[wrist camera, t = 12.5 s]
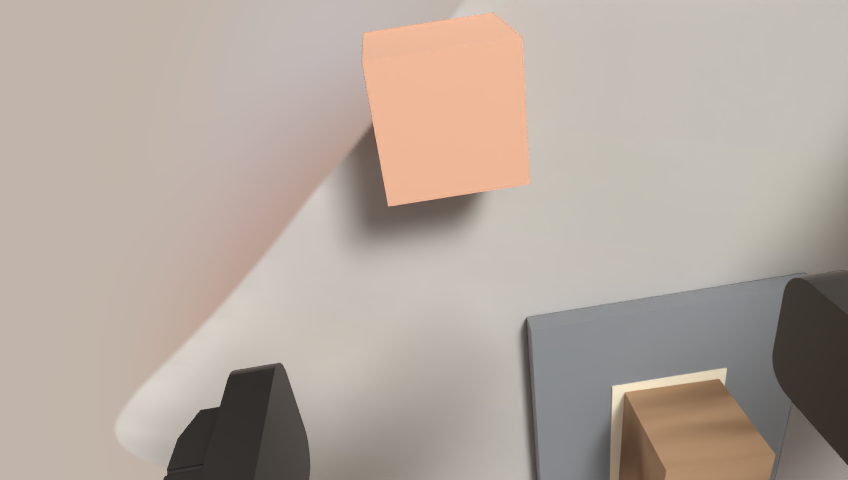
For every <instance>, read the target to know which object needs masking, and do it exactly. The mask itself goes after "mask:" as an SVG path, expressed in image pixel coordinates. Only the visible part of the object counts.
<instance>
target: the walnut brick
mask: <svg viewBox="0 0 848 480" xmlns="http://www.w3.org/2000/svg"><path fill="white" fill-rule="evenodd" d="M774 459H775V453H774V452H773V450H772V449H771V448H770V446H769V445H768V444H767V442H766V441H765V440H764V438H763V437H762V436H761V434H760V433H759V432H758V430H757V429H756V428H755V426H754V425H753V424H752V422H751V421H750V420H749V418H748V417H747V416H746V414H745V413H744V411H743V410H742V409H741V407H740V406H739V405H738V403H737V402H736V401H735V399H734V398H733V397H732V395H731V394H730V393H729V391H728V390H727V389H726V387H725V386H724V385H723V383H722V382H721V381H720V379H714V380H707V381H700V382H693V383H686V384H679V385H672V386H665V387H658V388H651V389H644V390H637V391H630V392H625V395H624V409H623V424H622V438H621V453H620V467H619V480H769V479H770V475H771V471H772V467H773V463H774Z"/></svg>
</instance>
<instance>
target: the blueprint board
mask: <svg viewBox="0 0 848 480" xmlns="http://www.w3.org/2000/svg"><path fill="white" fill-rule="evenodd" d="M804 276H808V275H807V274H806V273H800V274H794V275H788V276H781V277H775V278H769V279H763V280H756V281H750V282H744V283H738V284H731V285H725V286H719V287H713V288H706V289H700V290H694V291H688V292H681V293H675V294H669V295H663V296H657V297H650V298H644V299H638V300H632V301H625V302H619V303H613V304H607V305H600V306H594V307H588V308H582V309H575V310H569V311H563V312H557V313H550V314H544V315H538V316H532V317H527V331H528V347H529V362H530V377H531V393H532V408H533V423H534V439H535V454H536V470H537V480H619V467H620V453H621V438H622V424H623V409H624V395H625V392H630V391H637V390H644V389H651V388H658V387H665V386H672V385H679V384H686V383H693V382H700V381H707V380H714V379H720V381H721V382H722V383H723V385H724V386H725V387H726V389H727V390H728V391H729V393H730V394H731V395H732V397H733V398H734V399H735V401H736V402H737V403H738V405H739V406H740V407H741V409H742V410H743V411H744V413H745V414H746V416H747V417H748V418H749V420H750V421H751V422H752V424H753V425H754V426H755V428H756V429H757V430H758V432H759V433H760V434H761V436H762V437H763V438H764V440H765V441H766V442H767V444H768V445H769V446H770V448H771V449H772V450H773V452H774V453H775V459H774V463H773V467H772V471H771V475H770V479H769V480H775V476H776V471H777V467H778V462H779V458H780V453H781V449H782V444H783V439H784V435H785V430H786V426H787V421H788V417H789V412H790V408H791V403H792V401H791V400H790V399H789V397H788V396H787V395H786V394H785V393H784V391H783V390H782V388H781V387H780V385H779V383H778V381H777V378H776V376H775V372H774V369H773V363H772V353H773V347H774V342H775V336H776V331H777V325H778V320H779V315H780V309H781V304H782V298H783V293H784V289H785V286H786V284H787V283H788V282H789V281H790V280H791V279H793V278H798V277H804Z"/></svg>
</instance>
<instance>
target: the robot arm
mask: <svg viewBox="0 0 848 480" xmlns="http://www.w3.org/2000/svg"><path fill="white" fill-rule="evenodd" d="M772 363H773V369H774V372H775V376H776V378H777V381H778V383H779V385H780V387H781V388H782V390H783V391H784V393H785V394H786V395H787V396H788V397H789V399H790V400H791V401H792V402H793V403H794V404H795V405H796V407H797V408H798V409H799V410H800V411H801V412H802V413H803V415H804V416H805V417H806V418H807V419H808V420H809V421H810V423H811V424H812V425H813V426H814V427H815V428H816V429H817V431H818V432H819V433H820V434H821V435H822V436H823V437H824V439H825V440H826V441H827V442H828V443H829V444H830V445H831V447H832V448H833V449H834V450H835V451H836V452H837V453H838V455H839V456H840V457H841V458H842V459H843V460H844V461H845V463H846V464H847V465H848V271H844V270H840V271H833V272H827V273H821V274H815V275H810V276H804V277H798V278H793V279H791V280H790V281H789V282H788V283H787V284H786V286H785V289H784V293H783V298H782V304H781V309H780V315H779V320H778V325H777V331H776V336H775V342H774V347H773V353H772ZM309 475H310V455H309V446H308V440H307V435H306V431H305V428H304V425H303V422H302V419H301V416H300V413H299V410H298V407H297V403H296V400H295V397H294V394H293V391H292V388H291V385H290V382H289V379H288V376H287V373H286V370H285V368H284V366H283V365H282V364H281V363H276V364H270V365H264V366H258V367H252V368H246V369H240V370H234V371H232V372H231V373H230V375H229V377H228V380H227V384H226V387H225V391H224V394H223V398H222V401H221V405H220V407H216V408H210V409H204V410H200V411H199V413H198V414H197V415H196V416H195V418H194V419H193V420H192V421H191V423H190V424H189V425H188V426H187V428H186V429H185V430H184V432H183V433H182V434H181V435H180V437H179V438H178V439H177V442H176V445H175V448H174V451H173V454H172V457H171V459H170V462H169V465H168V468H167V476H165V477H164V480H309Z"/></svg>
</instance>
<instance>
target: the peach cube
mask: <svg viewBox="0 0 848 480" xmlns="http://www.w3.org/2000/svg"><path fill="white" fill-rule="evenodd" d="M362 47H363V48H362V66H363V71H364V77H365V83H366V88H367V93H368V99H369V104H370V110H371V115H372V121H373V126H374V132H375V137H376V143H377V148H378V154H379V159H380V165H381V170H382V175H383V181H384V186H385V192H386V197H387V203H388V207H389V206H395V205H401V204H408V203H414V202H420V201H427V200H433V199H439V198H446V197H452V196H458V195H465V194H471V193H478V192H484V191H490V190H497V189H503V188H509V187H516V186H522V185H528V184H530V173H529V154H528V136H527V117H526V98H525V79H524V61H523V42H522V36H521V35H520V34H518V33H517V32H516V31H515V30H514V29H512V28H511V27H510V26H509V25H508V24H506V23H505V22H504V21H503V20H502V19H501V18H499V17H498V16H497V15H496V14H495V13H487V14H481V15H474V16H468V17H461V18H455V19H446V20H440V21H433V22H427V23H421V24H414V25H408V26H401V27H395V28H389V29H382V30H376V31H370V32H363V45H362Z"/></svg>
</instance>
